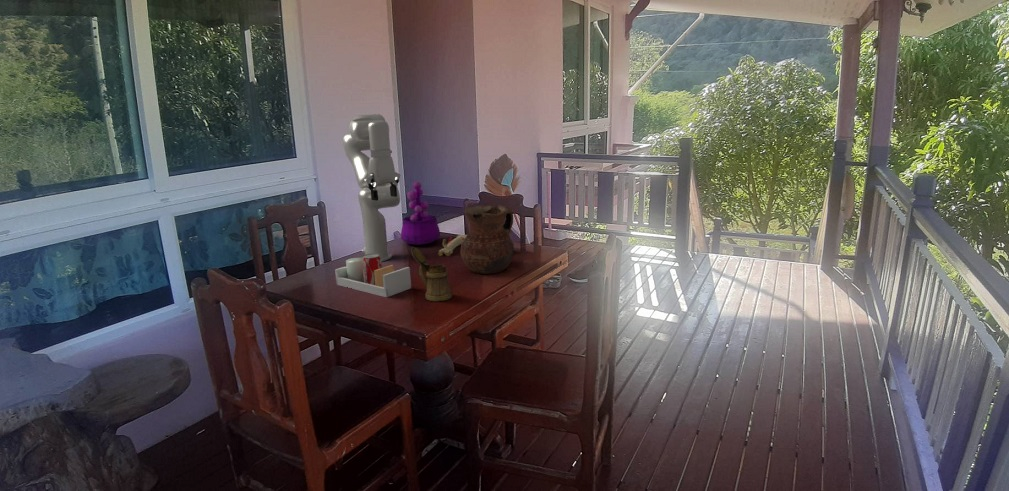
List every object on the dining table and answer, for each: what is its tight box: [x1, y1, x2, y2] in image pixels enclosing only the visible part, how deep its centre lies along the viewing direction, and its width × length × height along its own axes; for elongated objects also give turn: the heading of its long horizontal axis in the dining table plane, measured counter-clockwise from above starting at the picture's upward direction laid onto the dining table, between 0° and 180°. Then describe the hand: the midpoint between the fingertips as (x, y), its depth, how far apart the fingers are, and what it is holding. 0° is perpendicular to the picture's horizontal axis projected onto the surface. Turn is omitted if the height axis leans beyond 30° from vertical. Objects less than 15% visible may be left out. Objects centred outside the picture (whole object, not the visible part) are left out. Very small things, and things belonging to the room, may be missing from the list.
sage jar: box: [345, 257, 364, 283], centre depth 224 cm, size 7×7×9 cm
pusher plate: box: [374, 264, 395, 287], centre depth 214 cm, size 1×8×8 cm, turn 143°
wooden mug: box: [411, 246, 453, 302], centre depth 203 cm, size 9×14×18 cm, turn 74°
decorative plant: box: [400, 181, 441, 246], centre depth 280 cm, size 19×18×30 cm
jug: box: [460, 204, 515, 275], centre depth 233 cm, size 22×21×25 cm
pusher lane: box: [334, 266, 412, 298], centre depth 218 cm, size 28×12×8 cm, turn 53°
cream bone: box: [437, 234, 468, 257], centre depth 269 cm, size 10×9×25 cm
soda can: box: [362, 254, 383, 285], centre depth 218 cm, size 7×7×12 cm
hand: (384, 198), depth 229 cm, fingers open, 9 cm apart
